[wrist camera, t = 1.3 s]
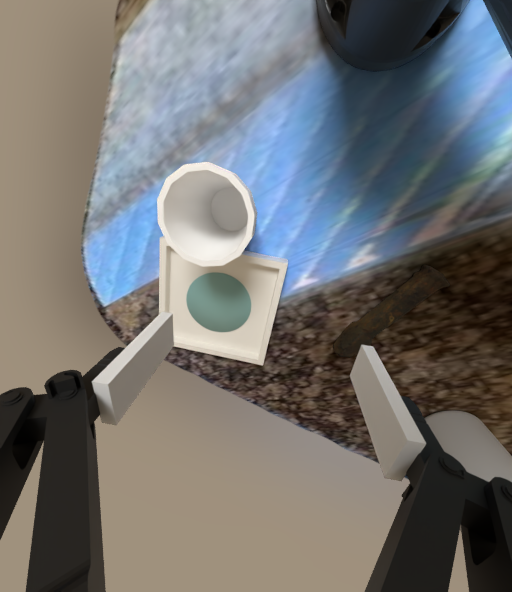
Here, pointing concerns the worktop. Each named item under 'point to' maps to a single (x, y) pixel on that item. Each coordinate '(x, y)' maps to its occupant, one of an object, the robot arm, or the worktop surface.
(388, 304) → the hand tool
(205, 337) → the square white tray
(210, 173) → the foam cup
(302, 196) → the worktop surface
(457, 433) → the cylinder vase
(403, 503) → the robot arm
